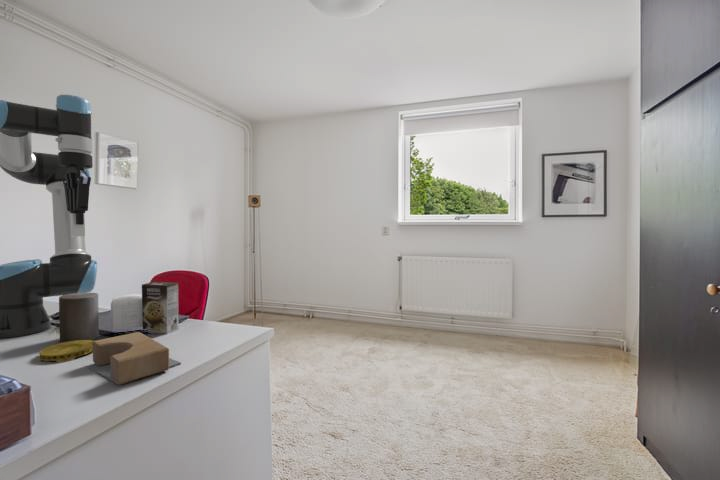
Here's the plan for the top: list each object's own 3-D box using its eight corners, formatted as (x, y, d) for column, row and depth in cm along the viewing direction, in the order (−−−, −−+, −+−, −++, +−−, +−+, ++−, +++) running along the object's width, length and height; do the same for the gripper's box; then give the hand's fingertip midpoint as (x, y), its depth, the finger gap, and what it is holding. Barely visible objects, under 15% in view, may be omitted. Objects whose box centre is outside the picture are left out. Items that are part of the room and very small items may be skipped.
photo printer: (147, 327, 121) (146, 291, 120) (148, 330, 117) (147, 294, 117) (111, 332, 115) (110, 295, 115) (110, 335, 112) (109, 297, 111)
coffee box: (141, 333, 114) (140, 284, 114) (155, 327, 121) (154, 281, 120) (167, 334, 113) (166, 285, 112) (179, 328, 120) (178, 281, 119)
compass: (27, 361, 91) (27, 353, 91) (72, 345, 103) (72, 338, 103) (65, 365, 89) (64, 357, 89) (107, 348, 101) (106, 341, 101)
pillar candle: (54, 345, 102) (53, 295, 102) (66, 335, 111) (65, 289, 111) (94, 341, 106) (93, 293, 106) (103, 332, 115) (102, 287, 115)
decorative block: (92, 362, 89) (116, 385, 76) (91, 340, 89) (116, 360, 76) (140, 351, 98) (169, 370, 85) (140, 331, 98) (170, 347, 85)
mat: (88, 367, 87) (88, 366, 87) (147, 350, 99) (147, 349, 99) (120, 385, 78) (120, 383, 78) (180, 364, 89) (180, 362, 89)
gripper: (50, 153, 99) (53, 236, 100) (67, 148, 92) (71, 237, 93) (82, 157, 105) (84, 235, 106) (101, 152, 98) (103, 236, 99)
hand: (78, 236), depth 99 cm, fingers closed
